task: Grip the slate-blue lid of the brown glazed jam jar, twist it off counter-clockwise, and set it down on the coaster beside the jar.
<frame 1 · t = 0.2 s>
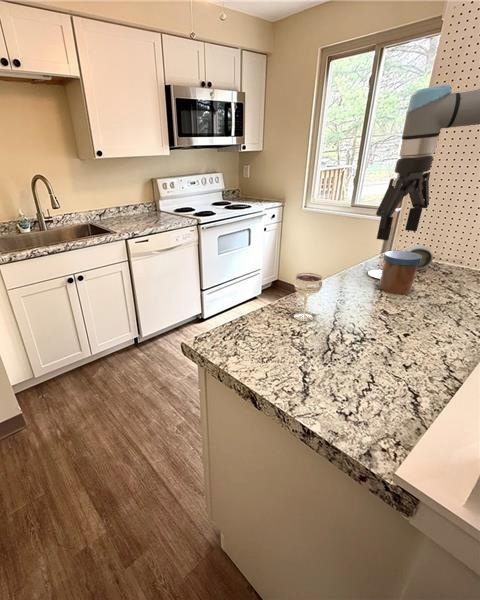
hand: (396, 235, 91), 17 cm above the countertop, tool pointing down, fingers open, 13 cm apart
ceramic mug: (409, 266, 111), on the countertop
coaster: (385, 275, 106), on the countertop
wineglass: (303, 317, 87), on the countertop
jam jar: (394, 288, 97), on the countertop
jar lid: (402, 256, 92), point 11 cm above the countertop, screwed on, not yet turned
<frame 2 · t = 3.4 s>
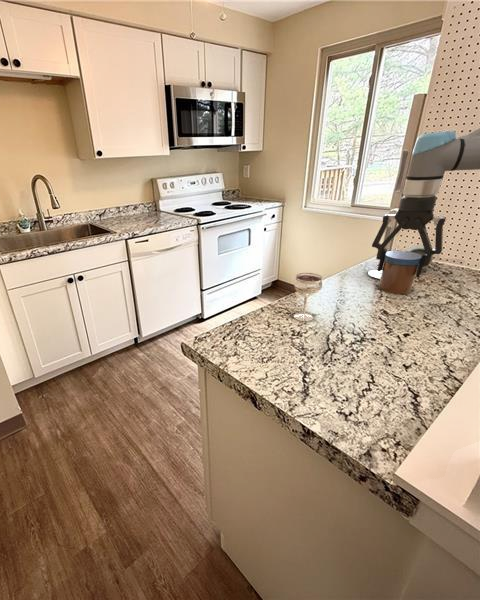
hand: (398, 272, 94), 5 cm above the countertop, tool pointing down, fingers closed on jar lid, 9 cm apart
jar lid: (402, 256, 92), point 11 cm above the countertop, screwed on, not yet turned, touching gripper
everything else where it was.
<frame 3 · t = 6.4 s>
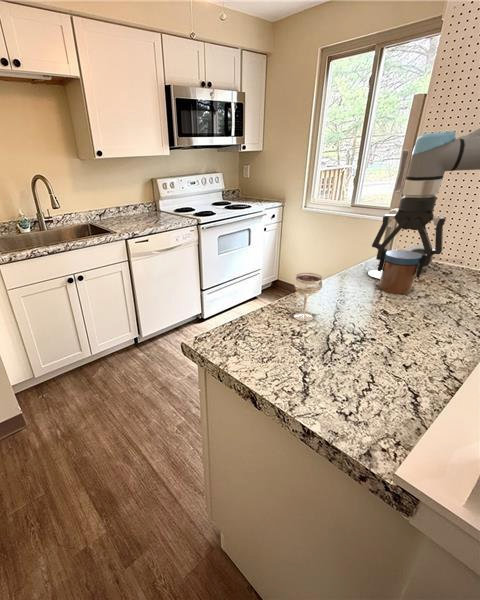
hand: (398, 272, 94), 5 cm above the countertop, tool pointing down, fingers closed on jar lid, 9 cm apart
jar lid: (403, 255, 92), point 11 cm above the countertop, turned 81° so far, risen 0.2 cm, still on its thread, touching gripper
everything else where it was.
when the fingers open (2 cm above the countertop, at t = 14.3 s): jar lid drops 5 cm, resting on coaster.
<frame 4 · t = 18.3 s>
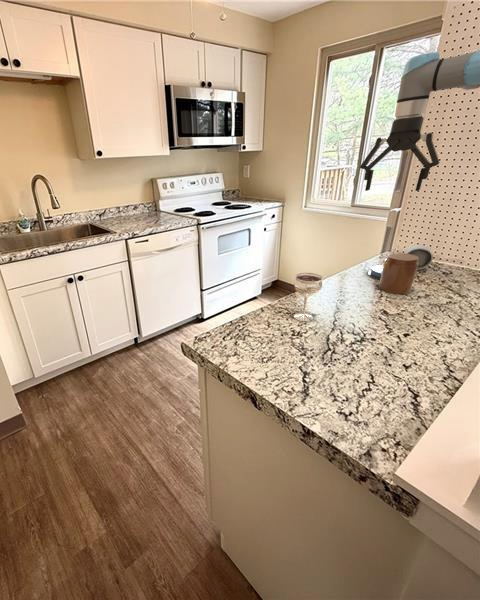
hand: (391, 190, 104), 27 cm above the countertop, tool pointing down, fingers open, 13 cm apart
jar lid: (386, 270, 105), point 2 cm above the countertop, off its thread, touching coaster
everything else where it was.
at the end: jar lid came off its thread; jar lid point 1.8 cm above the countertop; the gripper is holding nothing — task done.
